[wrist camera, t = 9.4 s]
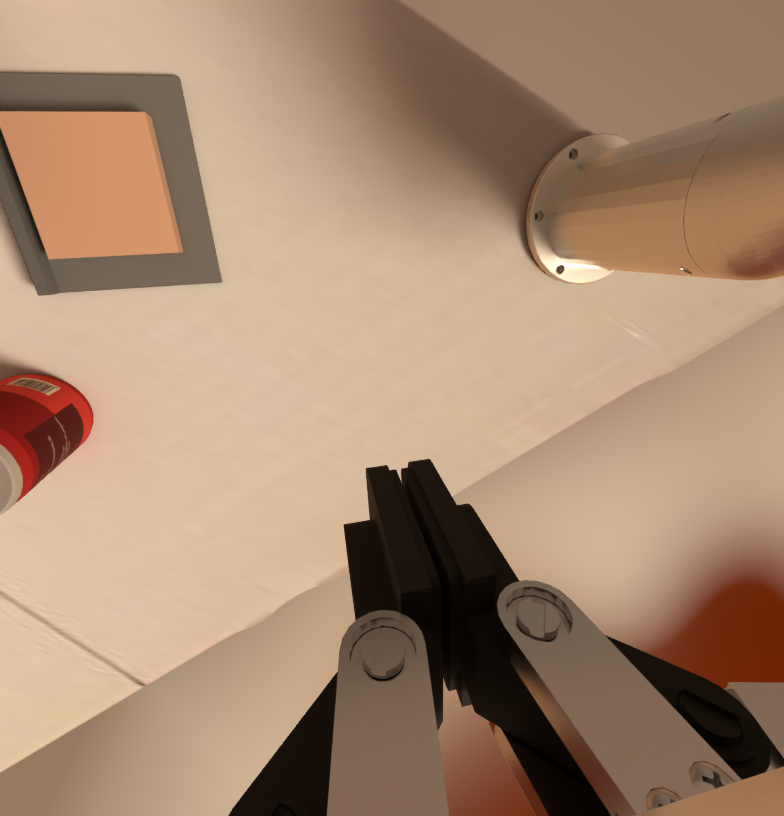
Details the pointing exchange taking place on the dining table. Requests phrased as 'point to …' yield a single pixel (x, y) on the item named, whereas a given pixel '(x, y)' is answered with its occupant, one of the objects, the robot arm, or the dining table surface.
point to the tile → (93, 182)
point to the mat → (180, 168)
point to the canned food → (37, 431)
